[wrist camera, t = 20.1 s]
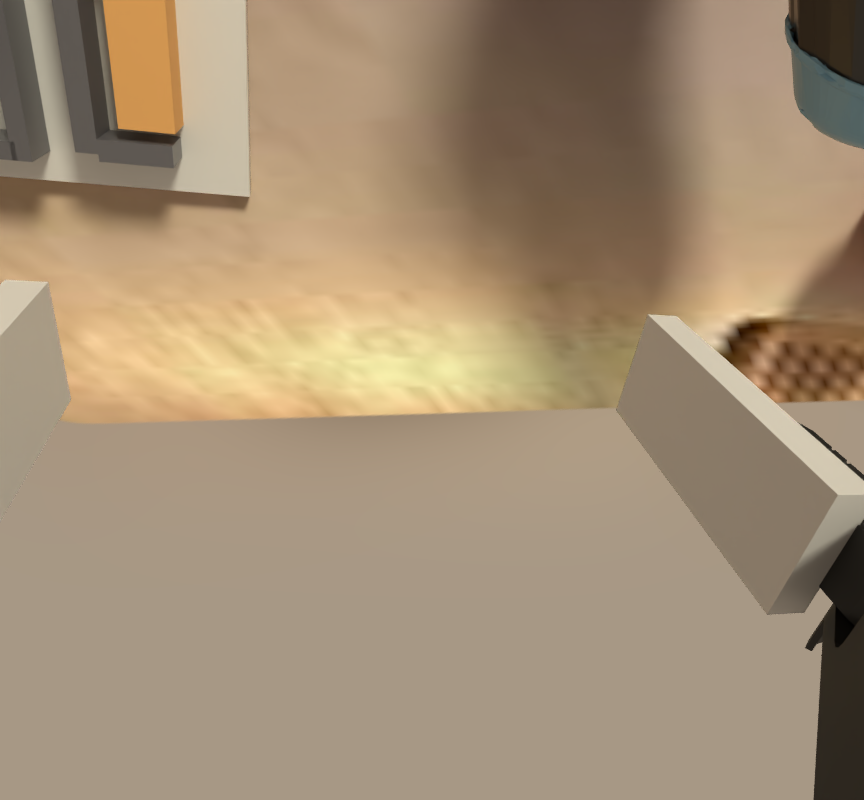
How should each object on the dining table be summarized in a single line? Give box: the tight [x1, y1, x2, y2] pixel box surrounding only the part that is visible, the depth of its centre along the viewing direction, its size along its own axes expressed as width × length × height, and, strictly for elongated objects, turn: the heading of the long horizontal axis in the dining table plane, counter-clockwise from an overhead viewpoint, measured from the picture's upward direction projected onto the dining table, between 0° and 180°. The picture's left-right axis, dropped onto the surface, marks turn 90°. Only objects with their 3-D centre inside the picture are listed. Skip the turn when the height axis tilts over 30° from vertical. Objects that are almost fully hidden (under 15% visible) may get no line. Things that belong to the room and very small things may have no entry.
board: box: [0, 0, 251, 197], centre depth 34 cm, size 16×24×4 cm, turn 83°
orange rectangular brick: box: [103, 0, 184, 134], centre depth 35 cm, size 8×3×3 cm, turn 173°
